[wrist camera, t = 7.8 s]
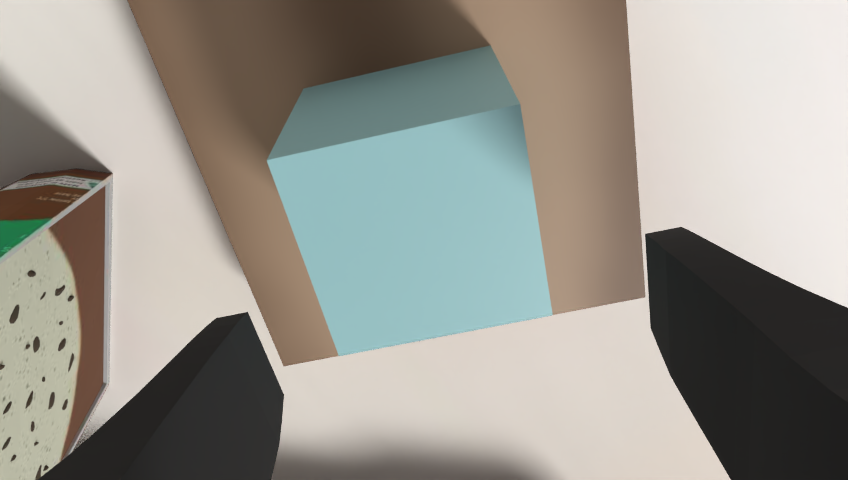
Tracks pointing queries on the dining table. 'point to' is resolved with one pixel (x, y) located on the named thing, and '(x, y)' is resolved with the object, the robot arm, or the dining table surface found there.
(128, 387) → the dining table surface
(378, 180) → the teal cube
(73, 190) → the food container
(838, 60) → the dining table surface
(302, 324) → the walnut base
